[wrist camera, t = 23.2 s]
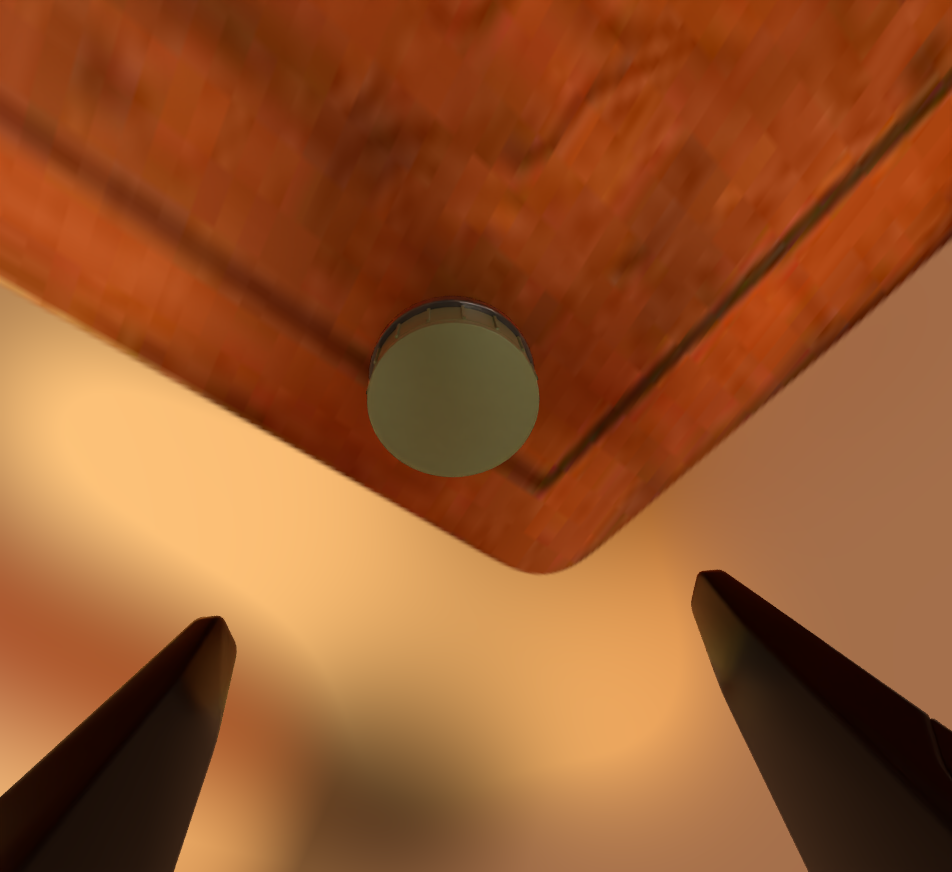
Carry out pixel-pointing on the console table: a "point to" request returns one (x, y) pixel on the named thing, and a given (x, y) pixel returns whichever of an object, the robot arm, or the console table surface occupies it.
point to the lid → (452, 392)
